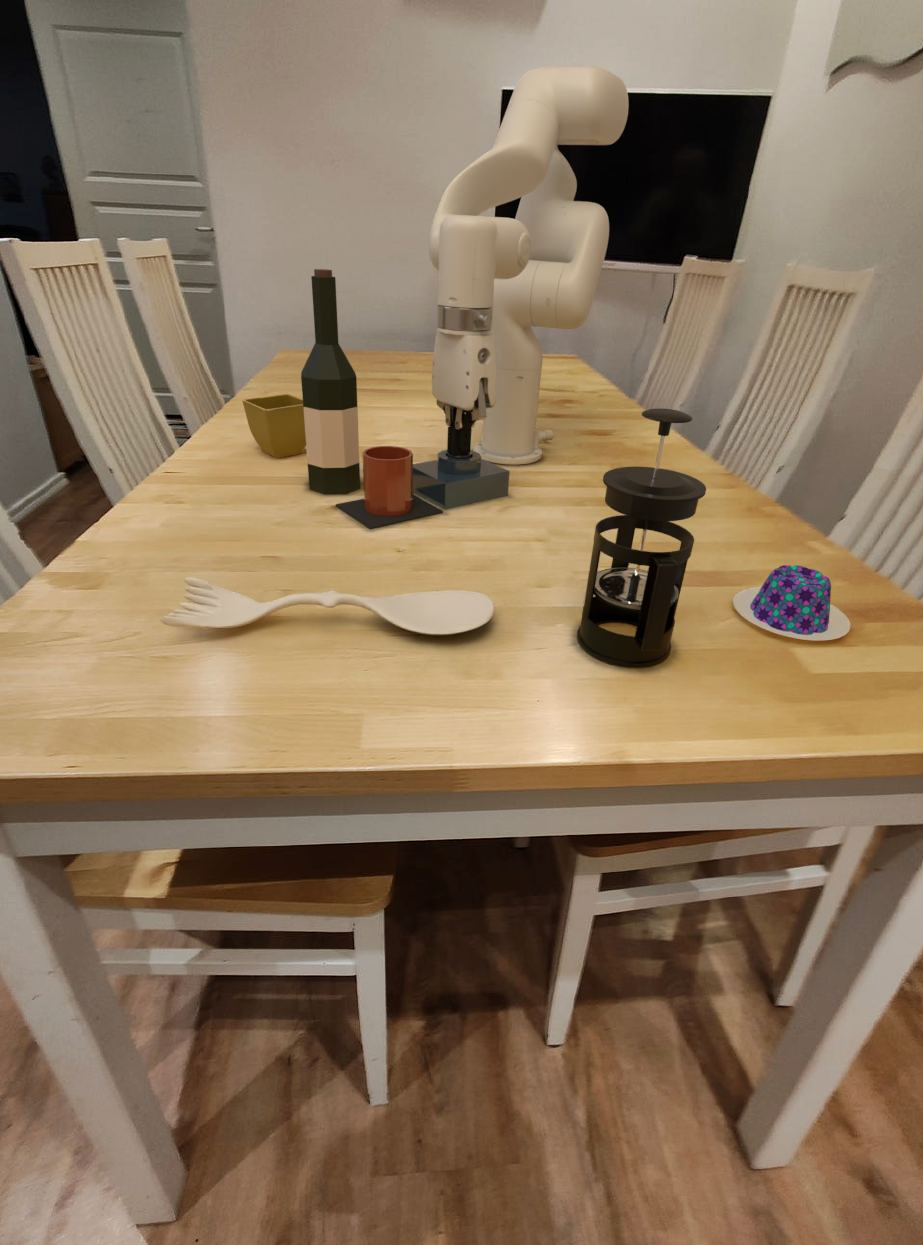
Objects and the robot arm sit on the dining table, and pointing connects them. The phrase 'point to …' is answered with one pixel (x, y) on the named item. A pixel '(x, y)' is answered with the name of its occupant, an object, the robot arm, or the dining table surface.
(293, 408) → the flower pot
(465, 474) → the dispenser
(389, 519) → the mat
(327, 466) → the wine bottle
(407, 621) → the spoon
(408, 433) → the dining table surface
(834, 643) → the dining table surface
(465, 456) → the dark brown button
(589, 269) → the robot arm
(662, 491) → the french press
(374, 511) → the cup
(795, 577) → the purple patterned hat
